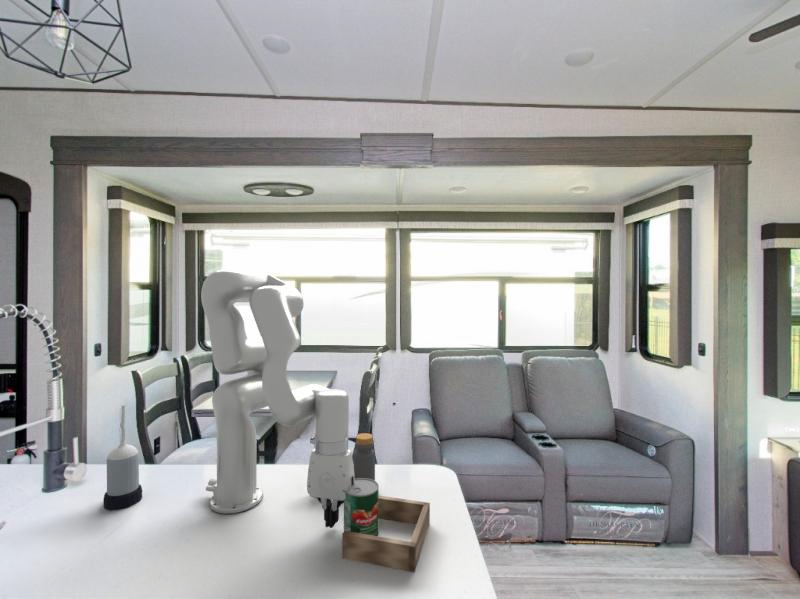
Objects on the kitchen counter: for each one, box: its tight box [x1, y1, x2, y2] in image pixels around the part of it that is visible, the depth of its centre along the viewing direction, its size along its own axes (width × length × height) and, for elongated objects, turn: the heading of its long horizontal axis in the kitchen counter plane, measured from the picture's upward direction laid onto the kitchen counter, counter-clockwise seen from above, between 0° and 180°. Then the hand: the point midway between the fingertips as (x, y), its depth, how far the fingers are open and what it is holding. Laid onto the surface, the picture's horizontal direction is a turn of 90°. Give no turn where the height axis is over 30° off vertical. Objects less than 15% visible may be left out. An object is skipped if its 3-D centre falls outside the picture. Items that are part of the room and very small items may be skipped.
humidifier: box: [103, 404, 143, 511], centre depth 101 cm, size 8×8×25 cm
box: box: [341, 495, 431, 573], centre depth 86 cm, size 15×16×5 cm
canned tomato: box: [343, 478, 380, 536], centre depth 88 cm, size 8×8×11 cm
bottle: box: [353, 432, 376, 481], centre depth 108 cm, size 6×6×15 cm
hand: (331, 524), depth 90 cm, fingers closed
